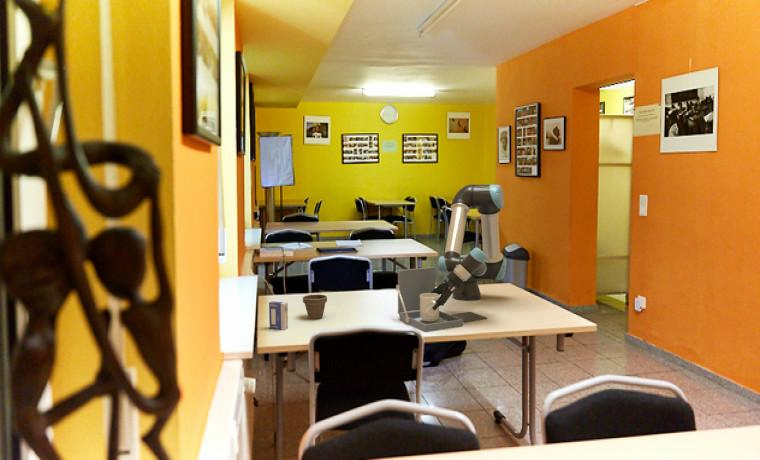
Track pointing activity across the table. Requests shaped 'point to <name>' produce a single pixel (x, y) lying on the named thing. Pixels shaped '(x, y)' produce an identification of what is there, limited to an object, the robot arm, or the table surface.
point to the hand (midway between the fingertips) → (425, 310)
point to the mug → (428, 306)
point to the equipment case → (409, 299)
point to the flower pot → (315, 305)
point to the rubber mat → (469, 316)
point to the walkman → (278, 315)
